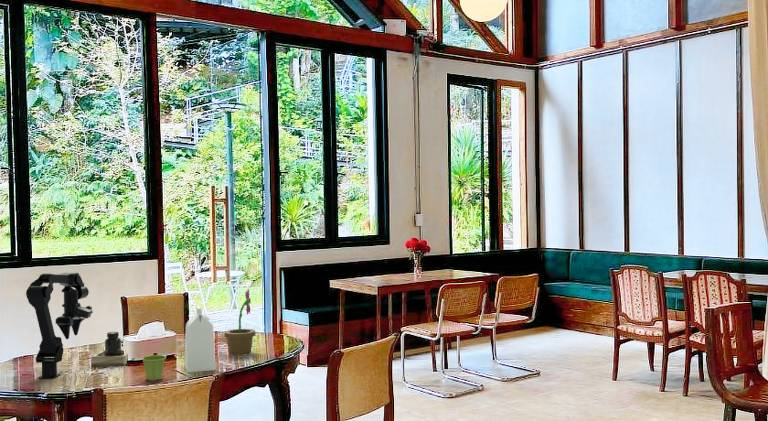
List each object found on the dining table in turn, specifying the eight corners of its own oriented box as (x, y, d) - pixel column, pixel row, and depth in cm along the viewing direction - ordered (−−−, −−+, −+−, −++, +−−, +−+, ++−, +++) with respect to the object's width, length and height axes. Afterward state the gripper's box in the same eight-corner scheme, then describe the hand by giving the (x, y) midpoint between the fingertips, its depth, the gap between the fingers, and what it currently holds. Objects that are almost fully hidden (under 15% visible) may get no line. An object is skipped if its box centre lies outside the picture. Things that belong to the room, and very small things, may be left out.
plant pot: (169, 375, 297) (168, 354, 297) (163, 381, 287) (162, 359, 287) (146, 376, 297) (145, 355, 296) (139, 382, 287) (138, 360, 287)
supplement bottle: (122, 359, 323) (121, 333, 322) (105, 361, 320) (105, 334, 319) (120, 356, 329) (119, 330, 329) (104, 358, 326) (103, 332, 325)
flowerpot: (258, 354, 337) (257, 290, 336) (227, 357, 331) (226, 291, 331) (252, 348, 350) (251, 286, 350) (222, 351, 345) (221, 288, 344)
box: (123, 365, 318) (123, 356, 318) (91, 365, 317) (91, 356, 317) (134, 358, 332) (133, 349, 332) (103, 359, 331) (103, 350, 331)
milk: (184, 366, 314) (183, 306, 314) (211, 364, 318) (210, 304, 318) (187, 372, 303) (186, 310, 302) (215, 369, 307) (214, 308, 306)
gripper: (81, 304, 307) (81, 340, 307) (97, 298, 325) (98, 332, 325) (54, 304, 306) (55, 341, 307) (72, 298, 325) (73, 333, 325)
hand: (71, 337), depth 316 cm, fingers open, 9 cm apart
